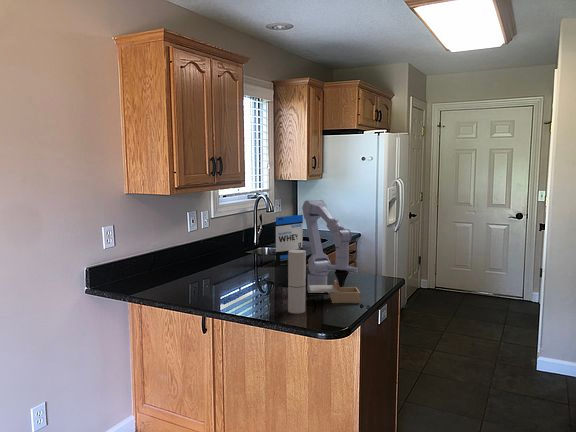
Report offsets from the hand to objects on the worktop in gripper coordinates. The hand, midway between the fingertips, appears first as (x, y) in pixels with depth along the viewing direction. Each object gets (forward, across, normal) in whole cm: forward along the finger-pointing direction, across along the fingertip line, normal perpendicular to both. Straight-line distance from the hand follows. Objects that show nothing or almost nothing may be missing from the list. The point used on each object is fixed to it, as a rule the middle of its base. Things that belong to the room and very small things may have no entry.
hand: (341, 286), depth 213 cm
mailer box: (+6, -1, -1) cm, 7 cm away
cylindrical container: (+7, +10, +23) cm, 26 cm away
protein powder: (+7, +60, -60) cm, 85 cm away
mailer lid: (+1, +7, +4) cm, 8 cm away
